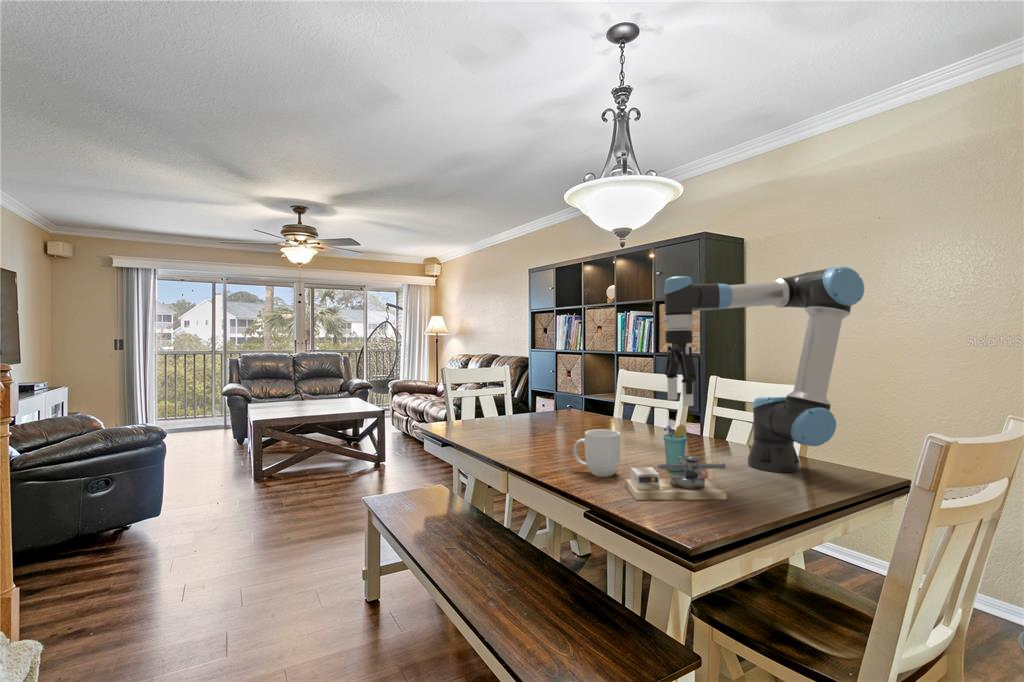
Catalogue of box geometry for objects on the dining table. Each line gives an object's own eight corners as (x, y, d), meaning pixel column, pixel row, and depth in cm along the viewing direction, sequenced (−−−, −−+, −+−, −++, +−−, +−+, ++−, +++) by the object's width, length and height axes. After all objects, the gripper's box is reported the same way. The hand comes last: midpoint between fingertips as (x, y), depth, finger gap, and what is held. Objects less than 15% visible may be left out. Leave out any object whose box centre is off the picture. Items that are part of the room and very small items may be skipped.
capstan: (711, 474, 144) (711, 449, 144) (742, 494, 125) (742, 466, 125) (647, 474, 143) (647, 449, 143) (669, 495, 124) (669, 466, 124)
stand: (707, 485, 140) (707, 464, 140) (726, 499, 128) (726, 476, 128) (625, 486, 140) (624, 465, 140) (636, 499, 128) (636, 477, 128)
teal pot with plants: (677, 476, 149) (677, 427, 149) (653, 472, 154) (653, 425, 154) (693, 467, 160) (693, 421, 160) (670, 463, 165) (670, 419, 165)
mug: (568, 474, 152) (568, 433, 152) (579, 466, 162) (579, 427, 161) (615, 481, 145) (615, 437, 145) (624, 471, 155) (624, 430, 155)
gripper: (653, 330, 154) (655, 397, 155) (680, 329, 130) (681, 408, 130) (677, 330, 154) (678, 396, 155) (708, 328, 129) (709, 408, 130)
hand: (680, 402), depth 142 cm, fingers open, 13 cm apart
